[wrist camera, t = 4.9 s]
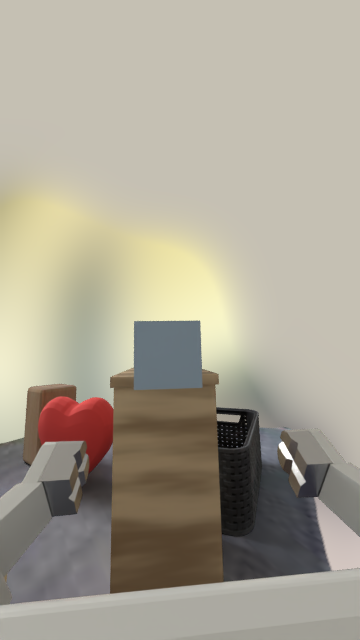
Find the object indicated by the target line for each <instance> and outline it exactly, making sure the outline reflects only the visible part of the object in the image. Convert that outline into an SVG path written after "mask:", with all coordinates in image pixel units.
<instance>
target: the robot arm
mask: <svg viewBox="0 0 360 640" xmlns="http://www.w3.org/2000/svg"><path fill="white" fill-rule="evenodd" d="M280 438H281V439H282V442H281V443H280V444H279V445H278V451H277V452H278V459H279V462H280V465H281V467H282V469H283V470H284V471H285V472H286V473H288V474H289V480H288V481H289V483H290V485H291V487H292V488H293V490H294V492H295V494H296V496H297V498H302V497H318V498H319V499H320V500H321V501H322V502H323V503H324V504H325V505H326V506H327V507H328V508H329V509H330V510H332V511H333V512H334V513H335V514H336V515H337V516H338V517H339V518H340V519H341V520H342V521H343V522H344V523H345V524H346V525H348V526H349V527H350V528H351V529H352V530H353V531H354V532H355V533H356V534H357V535H358V536H359V537H360V469H359V468H358V467H356V466H354V465H353V464H351V463H346V461H345V460H344V459H343V458H342V456H341V455H340V454H339V453H338V451H337V450H336V449H335V448H334V447H333V445H332V444H331V443H330V441H329V440H328V439H327V437H326V436H325V435H324V434H323V432H322V431H321V430H319V429H300V430H284V431H283V432H282V433H281V437H280ZM86 449H87V444H86V441H59V442H45V443H44V444H43V445H42V446H41V448H40V450H39V452H38V454H37V456H36V457H35V459H34V461H33V463H32V465H31V467H30V469H29V470H28V472H27V474H26V476H25V478H24V480H23V482H22V483H20V484H16V485H15V486H14V487H13V488H12V489H10V490H9V491H8V492H7V493H6V494H4V495H3V496H2V497H1V498H0V640H360V568H357V569H347V570H337V571H327V572H317V573H308V574H298V575H288V576H278V577H269V578H259V579H249V580H240V581H230V582H220V583H210V584H201V585H191V586H181V587H172V588H162V589H152V590H143V591H133V592H123V593H114V594H104V595H94V596H84V597H75V598H65V599H55V600H46V601H36V602H26V603H16V604H10V602H11V599H12V595H11V592H10V590H9V587H8V585H7V583H6V581H5V579H4V577H5V576H6V575H7V573H8V572H9V571H10V570H11V568H12V567H13V566H14V565H15V563H16V562H17V561H18V560H19V559H20V557H21V556H22V555H23V554H24V552H25V551H26V550H27V549H28V548H29V546H30V545H31V544H32V543H33V541H34V540H35V539H36V538H37V536H38V535H39V534H40V533H41V532H42V530H43V529H44V528H45V527H46V525H47V524H48V523H49V522H50V520H51V519H52V517H54V516H64V515H73V514H77V512H78V508H79V505H80V501H81V498H82V489H81V487H82V486H83V485H84V484H85V483H86V480H87V477H88V471H89V456H88V455H87V454H86Z"/></svg>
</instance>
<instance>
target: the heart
mask: <svg viewBox="0 0 360 640" xmlns="http://www.w3.org/2000/svg"><path fill="white" fill-rule="evenodd" d="M113 412H114V410H113V408H112V406H111V405H110V404H109V403H108V402H107V401H106V400H104V399H102V398H90V399H88V400H85V401H83V402H82V403H80V404H79V403H78V402H76V401H75V400H73V399H71V398H69V397H61V396H60V397H56V398H54V399H52V400H51V401H49V402H48V403H47V405H46V406H45V407H44V408H43V410H42V412H41V414H40V417H39V422H38V434H39V438H40V441H41V444H42V445H43V444H44V443H45V442H59V441H86V444H87V449H86V454H87V455H88V456H89V471H88V474H89V473H90V472H91V471H92V470H93V469H94V468H95V467H96V466H97V464H98V463H99V462H100V461H101V460H102V458H103V457H104V456H105V454H106V453H107V452H108V450H109V449H110V447H111V445H112V443H113Z"/></svg>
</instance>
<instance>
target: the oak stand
mask: <svg viewBox="0 0 360 640" xmlns="http://www.w3.org/2000/svg"><path fill="white" fill-rule="evenodd" d="M215 384H219V379H218V374H217V373H213V372H210V371H207V370H203V369H202V388H181V389H151V390H134V368H131V369H129V370H126V371H124V372H122V373H119V374H117V375H114V376H112V377H111V378H110V388H114V412H113V467H112V522H111V577H110V594H114V593H123V592H133V591H143V590H152V589H162V588H172V587H181V586H191V585H201V584H210V583H220V582H224V580H223V556H222V533H221V509H220V486H219V462H218V438H217V417H216V416H217V415H216V391H215Z"/></svg>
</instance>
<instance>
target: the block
mask: <svg viewBox="0 0 360 640" xmlns="http://www.w3.org/2000/svg"><path fill="white" fill-rule="evenodd" d="M60 396H61V397H69V398H71V399H73V400H75V401H76V387H75V386H73V385H66V384H53V385H44V386H34V387H30V388H29V389H28V394H27V408H26V423H25V437H24V451H23V460H24V461H25V462H26V463H28V464H30V465H32V463H33V461H34V459H35V457H36V456H37V454H38V452H39V450H40V448H41V446H42V444H41V441H40V438H39V434H38V422H39V417H40V414H41V412H42V410H43V408H44V407H45V406H46V405H47V403H48V402H49V401H51V400H52V399H54V398H56V397H60Z"/></svg>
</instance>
